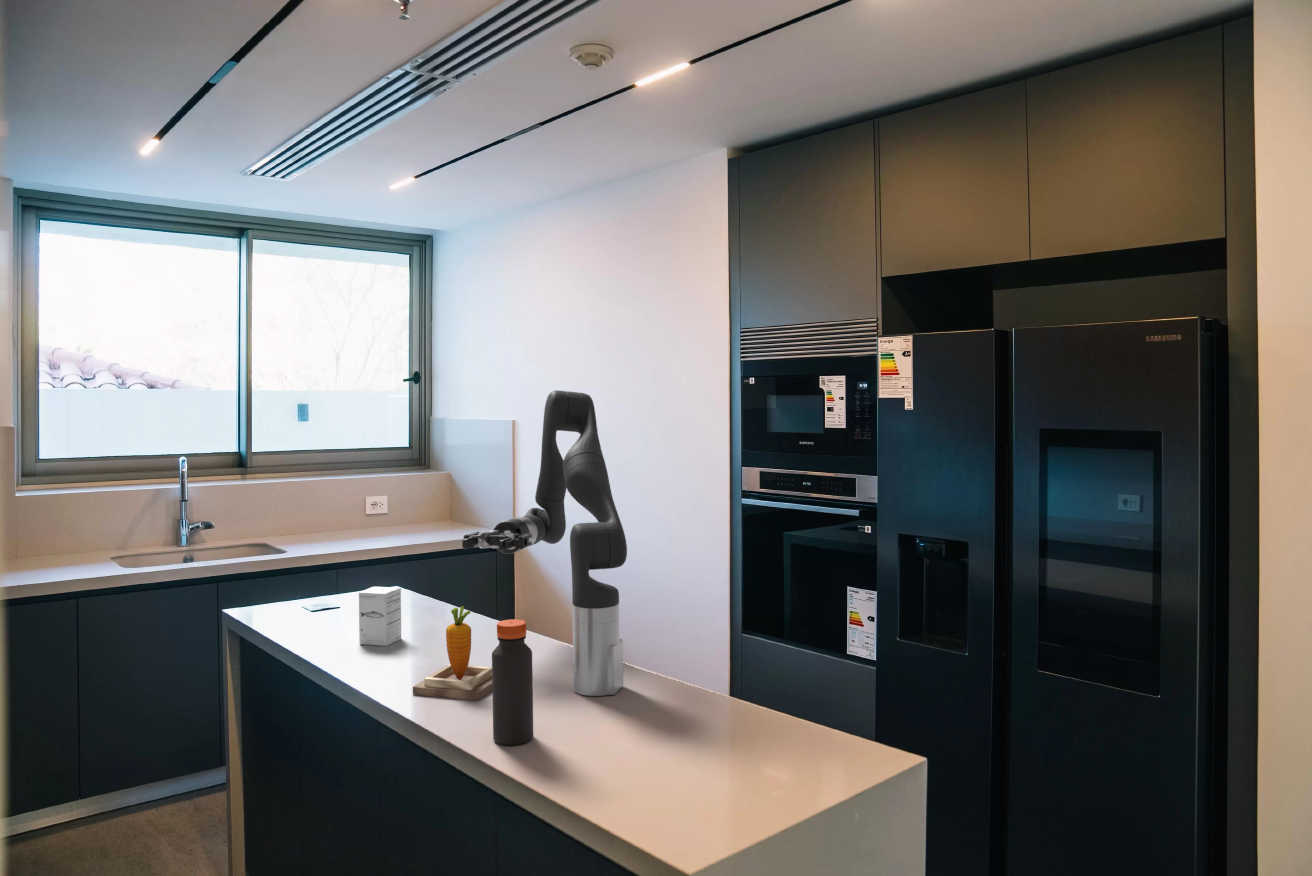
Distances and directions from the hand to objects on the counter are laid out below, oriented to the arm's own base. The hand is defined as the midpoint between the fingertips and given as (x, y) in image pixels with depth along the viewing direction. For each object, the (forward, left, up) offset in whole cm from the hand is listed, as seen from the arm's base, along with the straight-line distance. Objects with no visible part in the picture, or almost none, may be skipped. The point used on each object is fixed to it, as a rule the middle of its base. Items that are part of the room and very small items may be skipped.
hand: (482, 545), depth 189 cm
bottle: (-22, +33, -27) cm, 48 cm away
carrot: (0, +11, -26) cm, 28 cm away
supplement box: (+35, -15, -27) cm, 47 cm away
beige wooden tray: (0, +11, -27) cm, 29 cm away
